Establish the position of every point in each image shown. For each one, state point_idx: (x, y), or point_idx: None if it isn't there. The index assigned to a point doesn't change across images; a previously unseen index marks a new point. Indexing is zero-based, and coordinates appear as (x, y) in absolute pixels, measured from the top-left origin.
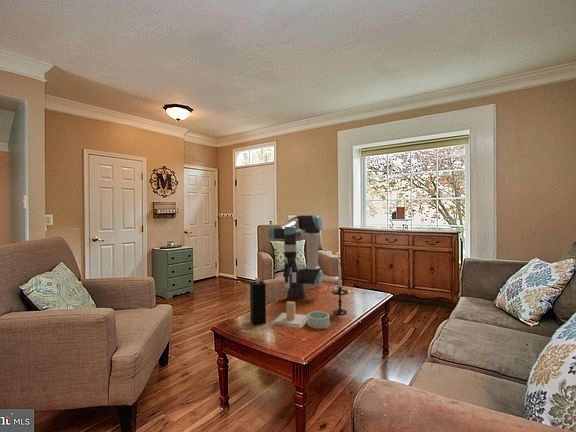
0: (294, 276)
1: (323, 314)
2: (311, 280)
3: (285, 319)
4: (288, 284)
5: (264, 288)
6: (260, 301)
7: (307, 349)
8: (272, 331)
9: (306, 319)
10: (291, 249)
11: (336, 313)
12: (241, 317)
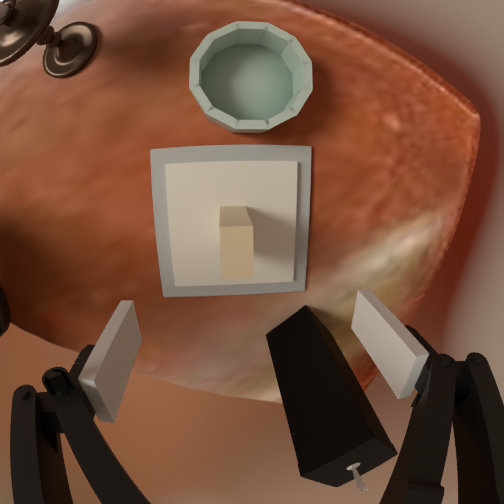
0: (117, 356)
1: (203, 59)
2: None
3: (256, 245)
4: (384, 310)
5: (366, 419)
6: (350, 379)
7: (444, 105)
8: (361, 254)
9: (207, 151)
10: None
11: (91, 51)
12: (262, 397)
